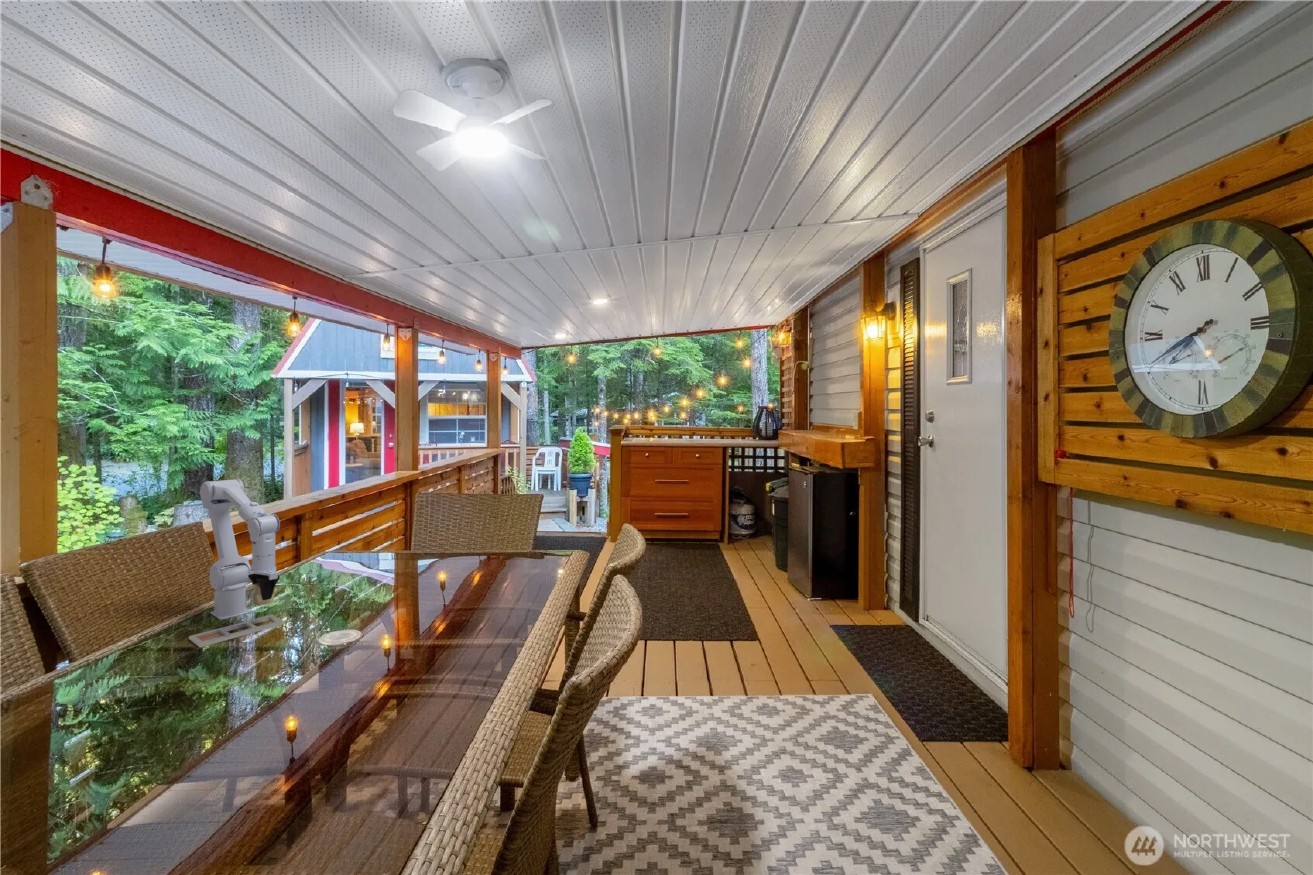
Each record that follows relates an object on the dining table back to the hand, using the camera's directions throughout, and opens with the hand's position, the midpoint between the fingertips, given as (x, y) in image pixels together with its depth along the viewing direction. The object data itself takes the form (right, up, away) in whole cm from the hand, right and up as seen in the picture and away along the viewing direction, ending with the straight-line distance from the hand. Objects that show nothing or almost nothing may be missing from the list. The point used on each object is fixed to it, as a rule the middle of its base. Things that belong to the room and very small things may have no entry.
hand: (263, 597), depth 161 cm
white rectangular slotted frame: (-4, -9, -5) cm, 11 cm away
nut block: (0, -2, 0) cm, 2 cm away
